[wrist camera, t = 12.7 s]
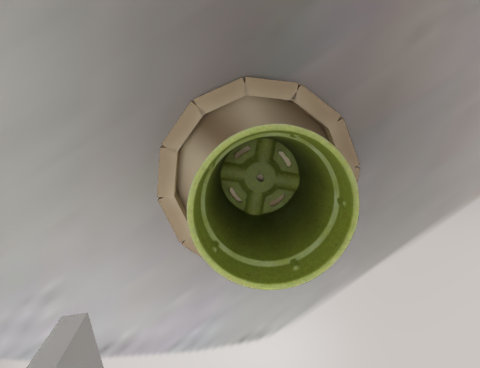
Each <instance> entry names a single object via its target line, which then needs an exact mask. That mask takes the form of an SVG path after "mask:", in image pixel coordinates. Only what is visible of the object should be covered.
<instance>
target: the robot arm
mask: <svg viewBox="0 0 480 368" xmlns="http://www.w3.org/2000/svg"><path fill="white" fill-rule="evenodd" d="M27 368H103V365H102V361H101V357H100V354H99V350H98V347H97V343H96V340H95V337H94V333H93V330H92V326H91V323H90V319H89V316H88V313H83V314H77V315H70V316H64V317H61V319H60V320H59V322H58V323H57V324H56V326H55V327H54V329H53V330H52V332H51V333H50V335H49V336H48V337H47V339H46V340H45V342H44V343H43V345H42V346H41V348H40V349H39V350H38V352H37V353H36V355H35V356H34V358H33V359H32V361H31V362H30V364H29V365H28V367H27Z"/></svg>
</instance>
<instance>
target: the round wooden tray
mask: <svg viewBox="0 0 480 368" xmlns="http://www.w3.org/2000/svg"><path fill="white" fill-rule="evenodd" d="M246 95H249V96H246ZM283 99H284V100H283ZM286 100H289V101H290V102H289V101H286ZM194 101H195V102H194ZM194 101H191V102H190V104H189V105H188V106H187V108H186V109H185V111H184V112H183V114H182V115H181V117H180V118H179V119H178V121H177V122H176V124H175V125H174V127H173V128H172V130H171V131H170V132H169V134H168V135H167V137H166V138H165V140H164V141H163V143H162V146H161V147H160V159H159V175H158V191H157V197H159V199H158V201H159V203H160V205H161V207H162V209H163V211H164V213H165V215H166V217H167V219H168V221H169V223H170V224H171V226H172V228H173V230H174V232H175V234H176V236H177V238H178V240H179V242H181V241H183V242H182V245H183V246H185V247H186V248H188V249H190V250H191V251H193V252H194V253H196V254H197V255H199V256H200V257H202V256H201V255H200V254H199V252H198V250H197V249H196V247H195V245H194V243H193V240H192V238H191V235H190V232H189V228H188V223H187V200H188V194H189V190H190V187H191V184H192V181H193V178H194V176H195V174H196V172H197V170H198V169H199V167H200V166H201V164H202V163H203V161H204V160H205V159H206V158H207V156H208V155H209V154H210V153H211V152H212V151H213V150H214V149H215V148H216V147H217V146H218V145H219V144H220V143H221V142H223V141H224V140H226V139H227V138H228V137H230V136H232V135H234V134H236V133H238V132H240V131H242V130H245V129H247V128H250V127H254V126H258V125H263V124H276V123H278V124H289V125H295V126H299V127H302V128H305V129H308V130H310V131H313V132H315V133H317V134H319V135H321V136H322V137H324V138H325V139H326V140H328V141H329V142H330V143H331V144H333V145H334V146H335V147H336V148H337V149H338V150H339V151H340V152H341V154H342V155H343V156H344V158H345V159H346V161H347V162H348V164H349V165H350V167H351V169H352V171H353V173H354V176H355V179H356V182H358V177H359V171H360V168H359V167H357V166H358V165H360V164H359V161H358V158H357V155H356V152H355V150H354V147H353V144H352V141H351V139H350V136H349V133H348V130H347V127H346V125H345V122H344V119H342V118H340V117H341V115H340V114H338V113H337V112H336V111H335V110H333V109H332V108H331V107H330V106H328V105H327V104H326V103H324V102H323V101H322V100H321V99H319V98H318V97H317V96H316V95H314V94H313V93H312V92H311V91H309V90H308V89H307V88H306V87H304V86H303V85H302V84H298V83H295V82H286V81H278V80H269V79H261V78H252V77H244V80H243V78H239V79H237V80H235V81H233V82H231V83H228V84H226V85H224V86H222V87H220V88H217V89H215V90H213V91H211V92H209V93H206V94H204V95H202V96H200V97H197V98H195V99H194ZM291 102H292V103H291ZM204 114H205V115H204ZM203 115H204V116H203ZM202 116H203V117H202ZM320 125H321V126H322V127H321V126H320ZM182 145H183V146H182ZM181 146H182V148H181V151H180V147H181ZM248 150H250V147H248V146H247V147H244V148H242V149H241V150H240V151H238V152H236V154H235V156H234V158H235V159H237V158H239V156H240V155H242V154H243V153H244V152H246V151H248ZM279 155H280V156H281V157H282V158H283V159H284V161H285V163H286V165H287V166H290V165H291V163H290V160H289V158H287V157H286V156H285V154H284V153H283V152H282V151H281V152H280V151H279ZM263 178H264V177H263V176H262V175H258V176H257V179H258V180H259V181H262V180H263ZM177 187H178V189H177ZM230 193H231V195H232V196H233V197H234V198H235V199H236V200H237V201H238V202H239V201H240V202H241V201H242V200H241V199H240V198H239V197H238V196H237V194H236V193H235V191H234V189H233V188H232V187H231V188H230ZM283 197H284V194H282V196H280V197H279V198H277V199H276V200H274V201H272V202H270V206H273V205H276V204H278V203H279V202H280V201H281V200H282V199H283ZM202 258H203V257H202Z"/></svg>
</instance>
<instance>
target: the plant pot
mask: <svg viewBox="0 0 480 368" xmlns="http://www.w3.org/2000/svg"><path fill="white" fill-rule="evenodd" d="M247 146H248V147H250V150H248V151H246V152H244V153H243V154H242V155H240V156H239V158H237V159H235V158H234V156H235V154H236V152H238V151H240V150H241V149H242V148H244V147H247ZM279 151H280V152H281V151H282V152H283V153H284V154H285V156H286V157H287V158H289V160H290V163H291V165H290V166H287V165H286V163H285V161H284V159H283V158H282V157H281V156H280V155H279ZM258 175H262V176H263V177H264V178H263V180H262V181H259V180H258V179H257V176H258ZM231 187H232V188H233V189H234V191H235V193H236V194H237V196H238V197H239V198H240V199H241V200H242V201H241V202H240V201H239V202H238V201H237V200H236V199H235V198H234V197H233V196H232V195H231V193H230V188H231ZM282 194H284V197H283V199H282V200H281V201H280V202H279V203H278V204H276V205H273V206H270V202H272V201H274V200H276V199H277V198H279V197H280V196H282ZM358 217H359V191H358V186H357V182H356V179H355V176H354V173H353V171H352V169H351V167H350V165H349V164H348V162H347V161H346V159H345V158H344V156H343V155H342V154H341V152H340V151H339V150H338V149H337V148H336V147H335V146H334V145H333V144H331V143H330V142H329V141H328V140H326V139H325V138H324V137H322V136H321V135H319V134H317V133H315V132H313V131H310V130H308V129H305V128H302V127H299V126H295V125H289V124H278V123H276V124H263V125H258V126H254V127H250V128H247V129H245V130H242V131H240V132H238V133H236V134H234V135H232V136H230V137H228V138H227V139H226V140H224V141H223V142H221V143H220V144H219V145H218V146H217V147H216V148H215V149H214V150H213V151H212V152H211V153H210V154H209V155H208V156H207V158H206V159H205V160H204V161H203V163H202V164H201V166H200V167H199V169H198V170H197V172H196V174H195V176H194V178H193V181H192V184H191V187H190V190H189V194H188V200H187V223H188V228H189V232H190V235H191V238H192V240H193V243H194V245H195V247H196V249H197V250H198V252H199V254H200V255H201V256H202V257H203V259H204V260H205V261H206V262H207V263H208V264H209V265H210V267H211V268H212V269H214V270H215V271H216V272H217V273H219V274H220V275H222V276H223V277H225V278H226V279H228V280H230V281H232V282H235V283H237V284H239V285H242V286H246V287H249V288H254V289H262V290H279V289H286V288H291V287H295V286H298V285H301V284H303V283H306V282H308V281H310V280H312V279H314V278H316V277H318V276H319V275H321V274H322V273H323V272H324V271H326V270H327V269H328V268H330V267H331V266H332V265H333V264H334V263H335V262H336V261H337V260H338V259H339V257H340V256H341V255H342V253H343V252H344V251H345V249H346V247H347V246H348V244H349V243H350V241H351V239H352V237H353V234H354V232H355V229H356V226H357V221H358Z"/></svg>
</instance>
